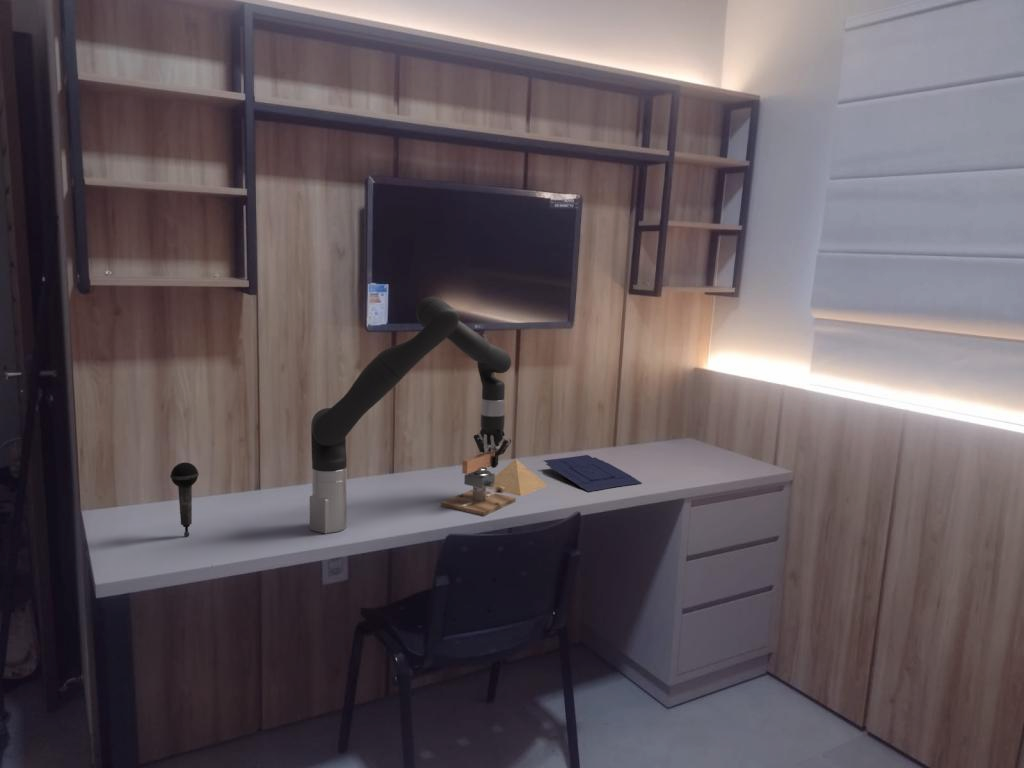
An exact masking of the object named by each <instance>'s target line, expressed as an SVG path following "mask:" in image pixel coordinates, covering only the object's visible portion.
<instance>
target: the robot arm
mask: <svg viewBox="0 0 1024 768" xmlns="http://www.w3.org/2000/svg"><path fill="white" fill-rule="evenodd" d="M415 317H416V319H417V322H418V323H419V324H420V326H422V327H423V328H422V329H421V330H420V331H419V332H418V333H416V334H415V336H413V337H412V338H411V339H408V340H407V341H405V342H402V343H400V344H397V345H394V346H391V347H389V348H386V349H384V350H382V351H381V352H380V353H378V354H377V355H376V356H375V357H374V358H373V359H372V360H371V361H370V362H369V363H368V364H367V365H366V366H365V367H364V369H362V371H361V372H360V374H359V375H358V376H357V378H356V379H355V381H354V382H353V384H352V386H351V387H350V388H349V390H348V391H347V392H346V393H345V395H344V396H343V397H342V398H341V399H340V400H338V401H337V402H336V403H335V404H334V405H333V406H332V407H325V408H322V409H320V410H318V411H317V412H316V413H315V414H314V416H313V417H312V420H311V424H310V425H311V426H310V427H311V428H310V433H311V434H310V437H311V438H310V439H311V440H310V441H311V470H312V471H311V474H312V475H311V477H312V478H311V483H312V485H311V486H312V487H311V488H312V489H311V491H312V493H311V494H312V495H310V496H309V530H312V531H315V532H318V533H321V534H328V533H329V534H330V533H336V532H337V533H338V532H340V531H344V530H346V528H347V526H348V522H347V519H348V518H347V517H348V515H347V514H348V513H347V512H348V509H347V505H348V504H347V503H348V502H347V501H348V500H347V499H348V498H347V497H348V495H347V494H348V492H347V489H348V488H347V484H348V483H347V481H348V480H347V479H348V478H347V474H348V473H347V472H348V471H347V470H348V468H347V467H348V465H347V462H348V460H347V457H348V456H347V449H346V447H347V445H346V443H347V442H346V441H347V440H346V438H347V436H348V434H350V432H351V431H352V429H354V427H355V426H356V424H357V423H358V422H359V421H361V420H360V419H361V418H362V417H363V416H364V415H365V414H366V413H367V412H368V411H369V410H370V409H371V408H372V407H374V406H375V405H376V404H378V402H379V401H381V400H382V399H383V397H384V396H386V395H387V394H388V393H389V392H390V391H391V390H393V388H394V387H395V386H396V385H397V384H398V383H399V382H401V380H402V379H403V378H404V377H405V376H406V375H407V374H408V373H409V372H410V371H411V370H412V369H413V368H414V367H415V366H416V365H417V364H418V363H419V362H421V360H422V359H424V357H426V356H427V355H428V354H429V353H430V352H431V351H433V350H434V349H435V348H436V347H437V346H438V345H440V344H441V343H442V342H443V341H444V340H446V339H448V340H449V341H450V342H451V343H453V345H455V346H456V347H457V348H458V349H459V350H460V351H461V352H463V353H464V354H465V355H466V356H467V357H469V358H471V359H472V360H473V361H475V362H477V363H476V364H477V369H478V373H479V379H480V382H481V387H482V388H481V389H482V391H481V397H482V398H481V405H480V428H481V429H480V431H479V433H477V434H474V435H473V439H474V441H475V444H476V446H477V448H478V450H479V453H482V454H483V453H486V452H489V451H492V465H491V466H488V467H487V468H490V467H491V468H493V469H494V468H497V467H498V465H499V456H500V455H504V454H505V452H506V450H507V449H508V447H509V446H510V444H511V443H512V439H511V438H507V436H505V431H504V430H505V429H504V428H505V418H506V417H505V415H506V414H505V413H506V405H505V403H506V402H505V388H506V387H505V386H506V385H505V383H504V382H503V381H502V380H500V379H498V378H497V377H496V375H495V374H504V373H506V372H508V371H509V370H510V369H511V367H512V366H511V365H512V359H511V356H510V354H509V352H507V351H506V350H504V349H503V348H501V347H499V346H498V345H495V344H492V343H490V342H489V341H488V340H486V339H485V338H484V337H483V336H481V334H479V333H477V331H475V330H473V329H472V328H470V327H469V326H468V325H466V324H465V323H463V322H462V321H460V315H459V313H458V311H457V310H456V309H454V308H453V307H452V306H451V305H450V304H448V303H447V302H446V301H444V300H443V299H442V298H440V297H437V296H427V297H425V298H423V299H421V301H420V302H419V303H418V304H417V307H416V310H415Z"/></svg>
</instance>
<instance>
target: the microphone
mask: <svg viewBox="0 0 1024 768" xmlns="http://www.w3.org/2000/svg"><path fill="white" fill-rule="evenodd" d="M199 475H200V473H199V471H198V468H197V467H196V466H195V465H194V464H193V463H190V462H180V463H178V464H176V465H175V466H174V467H173V468H172V470H171V473H170V476H169V477H170V479H171V481H172V483H173V484H174V485H175V486H177V487H178V489H177V490H178V501H179V504H178V505H179V513H180V516H179V517H180V525H181V526H182V527H184V532H183V535H184V537H189V536H190V531H189V527H190V526H191V525H192V523H193V522H192V518H193V516H192V515H193V514H192V513H193V509H192V508H193V507H192V506H193V504H192V503H193V489H192V487H193V485H194V484H195V483H196V482H197V480H198V478H199Z"/></svg>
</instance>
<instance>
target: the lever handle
mask: <svg viewBox="0 0 1024 768" xmlns="http://www.w3.org/2000/svg"><path fill="white" fill-rule="evenodd" d="M461 464H462V465H461V466H462V472H461V474H464V485H466V486H471V487H473V486H475V487H479V488H484V487H486V486H488V487H493V486H494V479H495V476H496V474H495V473H493V472H491V471H489V470H488V468H489V467H488V466H490V467H491V465H492V451H489V452H486V453H483V452H482V453H481V454H478V455H475V456H471V457H468V458H465V459H462V463H461Z"/></svg>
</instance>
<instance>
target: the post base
mask: <svg viewBox="0 0 1024 768" xmlns="http://www.w3.org/2000/svg"><path fill="white" fill-rule="evenodd" d="M486 490H487V488H486V487H484V488H479V487H475V486H472V489H471V490H468V491H466V492H463V493H461V494H458V495H456V496H453V497H450V498H449V499H448V498H447V499H446V500H443V501H441V502H440V506H441V507H443V508H448V509H451V510H452V509H454V510H457V511H461V512H466V513H470V514H473V515H480V516H483V517H485V516H487V515H489V514H491V513H494V512H496V511H499V510H500V509H502V508H504V507H506V506H509V505H512V504H513V503H515V502H516V501H517V497H514V496H509V495H505V494H502V493H500V494H499V493H495V492H490V491H486Z"/></svg>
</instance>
